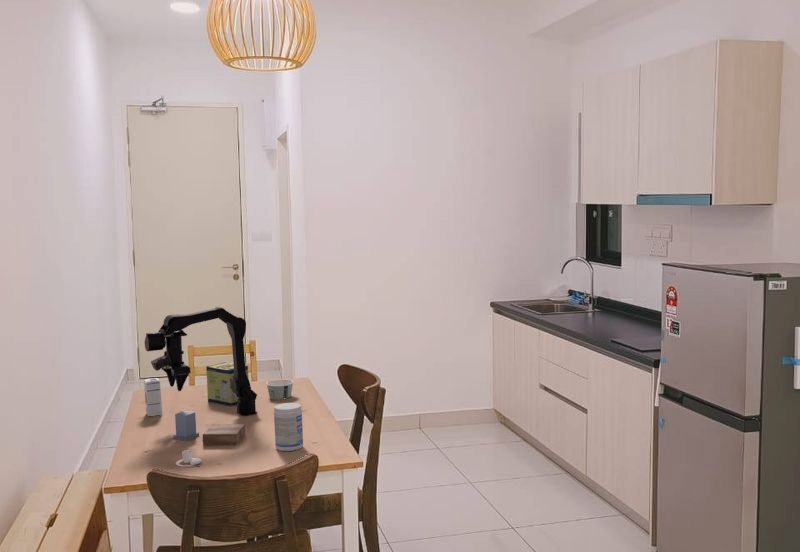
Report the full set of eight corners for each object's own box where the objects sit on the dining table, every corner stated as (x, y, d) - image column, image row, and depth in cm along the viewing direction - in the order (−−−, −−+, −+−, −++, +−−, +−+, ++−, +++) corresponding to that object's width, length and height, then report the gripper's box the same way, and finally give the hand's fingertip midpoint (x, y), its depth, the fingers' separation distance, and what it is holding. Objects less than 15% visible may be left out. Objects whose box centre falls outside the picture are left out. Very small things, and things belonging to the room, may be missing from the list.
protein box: (225, 396, 333) (224, 361, 332) (250, 401, 324) (248, 365, 323) (207, 401, 325) (205, 366, 323) (231, 406, 316) (230, 370, 314)
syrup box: (162, 415, 305) (160, 380, 303) (147, 417, 302) (145, 381, 301) (160, 411, 310) (158, 377, 309) (145, 413, 307) (143, 378, 306)
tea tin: (186, 433, 279) (185, 409, 279) (199, 435, 276) (198, 411, 276) (173, 438, 274) (172, 414, 273) (186, 440, 271) (185, 416, 270)
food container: (299, 396, 331) (299, 381, 330) (278, 402, 322) (278, 387, 321) (282, 392, 339) (281, 377, 338) (260, 397, 330) (260, 383, 329)
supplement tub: (304, 450, 257) (303, 408, 256) (276, 453, 255) (274, 410, 253) (301, 442, 266) (300, 401, 265) (274, 444, 264) (272, 403, 263)
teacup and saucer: (204, 465, 246) (204, 453, 246) (180, 470, 242) (180, 457, 241) (196, 457, 253) (195, 446, 253) (172, 462, 249) (172, 450, 249)
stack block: (212, 435, 277) (212, 424, 276) (245, 434, 276) (244, 424, 276) (203, 445, 265) (202, 434, 265) (236, 445, 264) (236, 434, 264)
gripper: (145, 347, 290) (147, 387, 291) (160, 354, 274) (161, 396, 276) (174, 344, 296) (176, 383, 297) (190, 351, 280) (191, 392, 282)
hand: (175, 388), depth 288 cm, fingers open, 9 cm apart
